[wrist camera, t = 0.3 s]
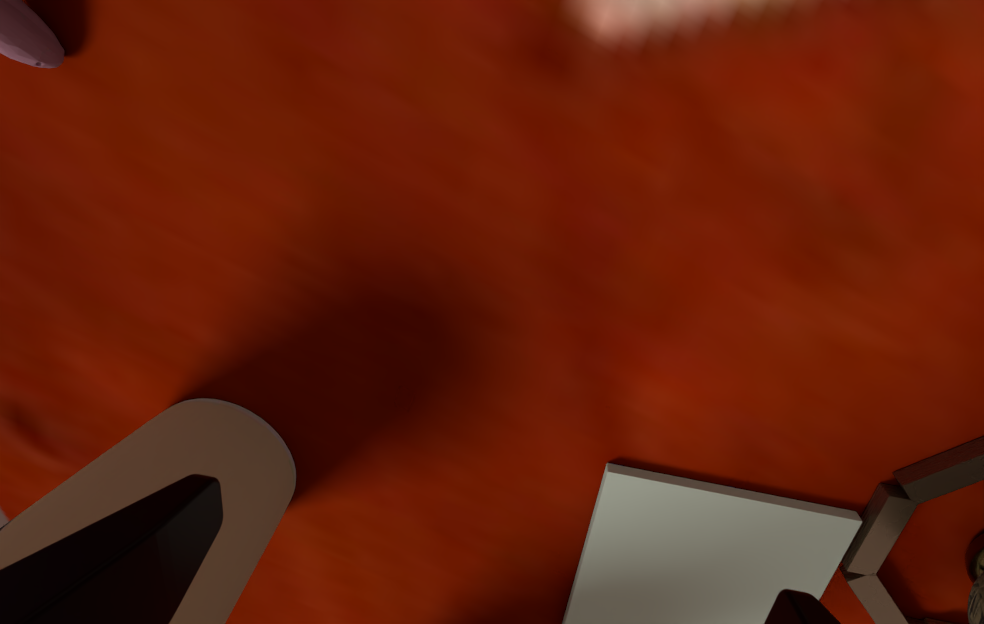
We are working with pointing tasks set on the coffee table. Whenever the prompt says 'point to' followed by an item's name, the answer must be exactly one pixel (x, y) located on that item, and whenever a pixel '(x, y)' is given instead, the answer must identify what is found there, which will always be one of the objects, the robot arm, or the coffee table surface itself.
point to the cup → (976, 580)
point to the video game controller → (27, 36)
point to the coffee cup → (162, 461)
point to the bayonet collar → (903, 523)
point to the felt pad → (700, 551)
